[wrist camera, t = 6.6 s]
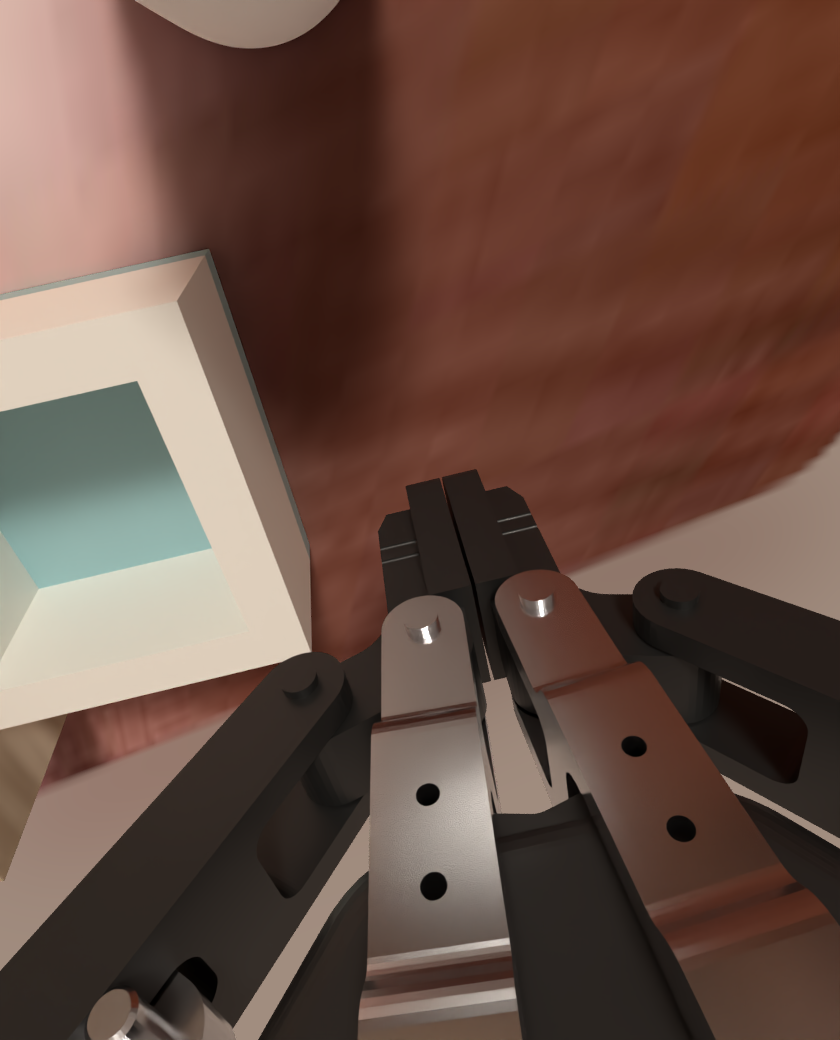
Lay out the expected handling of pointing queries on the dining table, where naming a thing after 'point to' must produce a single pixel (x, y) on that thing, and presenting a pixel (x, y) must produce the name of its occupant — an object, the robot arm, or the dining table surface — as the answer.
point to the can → (243, 19)
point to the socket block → (137, 495)
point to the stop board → (22, 777)
